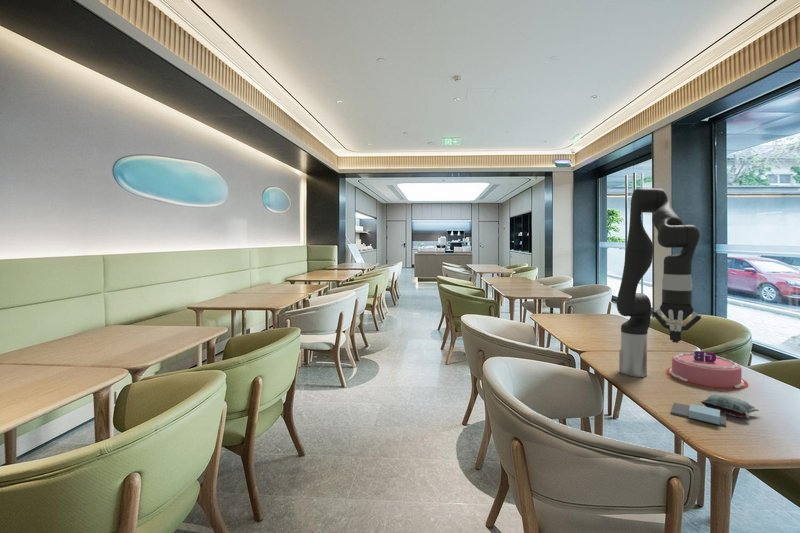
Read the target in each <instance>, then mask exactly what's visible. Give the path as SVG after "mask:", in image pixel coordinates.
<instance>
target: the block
mask: <svg viewBox="0 0 800 533" xmlns="http://www.w3.org/2000/svg"><path fill="white" fill-rule="evenodd" d="M689 406H690V408H689V417H690V418H689V419H691V418H694V419H693V420H695V419H698V420H697V421H700V420H702V421H701V422H704V421H707V422H706V423H708V422H711V423H710V424H712V423H715V424H714V425H717V424H719V425H718V426H721V425H720V413H721V412H720V410H717V409H713V408H708V407H706V406H703V405H699V404H694V403H690V404H689Z"/></svg>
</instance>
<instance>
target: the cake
mask: <svg viewBox="0 0 800 533" xmlns="http://www.w3.org/2000/svg"><path fill="white" fill-rule="evenodd" d="M742 371H743V370H742V366H741V365H740V364H739V363H737V362H735V361H733V360H731V359H729V358H725V357H723V356H717V355H716V353H714V352H712V351H703V350H695V351H693V352H682V353H678V354H675V355H673V356H672V358H671V367H669V368H667V369H666V370H665V374H667V376H669V377H671V379H675V380H677V381H679V382H683V383H686V384H689V385H692V386H698V387H703V388H708V389H714V390H715V389H717V390H727V391H729V390H731V391H733V390H734V391H738V390H739V391H740V390H745V389H747V388H748V387H749V383H748V382H747V380H745V379H743V378H742Z"/></svg>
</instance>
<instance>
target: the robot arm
mask: <svg viewBox="0 0 800 533" xmlns="http://www.w3.org/2000/svg"><path fill="white" fill-rule="evenodd" d="M629 212H630V213H629V224H628V225H629V226H628V228H629V229H628V233H627V234H628V235H627V241H626V248H625V253H624V261H623V262H624V264H623V270H622V277H621V282H620V286H619V289H618V293H617V298H616V309H617V311H618V313H619V314H620V315H621V316H623V317H629V319H628V320H627V321H625V322H623V323H622V324H621V325H620V349H619V350H618V352H619V356H618V357H619V359H618V360H619V363H618V373H620V374H623V375H626V376H629V377H635V378H641V377H642V378H643V377H646V376H648V375H647V374H648V334H649V333H648V331H649V328H650V325H651V318H652V317H651V316H653V317H654V318H655V319H656V320H657V321H658V323H660V325H661V326H662V328H664V329H667V330H668V331H669V339H670V341H672V343H675V344H676V343H677V344H679V342H681V340H682V332H683V331H689V329H691V328H692V327H693V326H694V325H696V323H697V322H699V321H700V320H701V319H702V315H701V314H698V313H697V312H695V311H694V308H693V305H692V303H693V302H692V301H693V299H692V297H693V296H692V295H693V279H692V265H693V264H692V263H693V257H694V255H695V252H696V249H697V247H698V243H699V241H700V236H701V233H700V230H699V229H698V227H697V226H696V225H694V224H684V222H683V221H682V219H681V218H680V216H678V215H677V213H676V212H675V211H674V209H673V205H672V203H671V201H670V198H669V195H668V192H666V190H665V189H662V188H658V187H656V188H653V187H651V188H648V187H646V188H645V187H644V188H643V187H642V188H640V187H639V188H635V189H634V190H633V192H632V195H631V199H630V210H629ZM642 213H646V214H647V213H648V214H649V213H652V214H653V215H652V219H651V220H652V224H653V226H654V227H655V229H656V230H657V243H658V244H659V246H661V247H664V248H666V249H667V248H668V249H669V248H670V249H671V248H672V249H674V248H682V249H681V251H680V252H679V253H675V254H671V255H666V256H665V257H664V259H663V277H662V282H661V283H662V286H661V304H660V306H659V308H658V309H657V310H653V311H652V303H651V302H652V301H651V300H650V297H649V296H648V295H647V294H645V293H642V292H641V293H639V292H638V293H637V289H638V286H639V284H640V282H641V280H642V279H643V277H644V275H645V274H646V273H647V272H648V270H649V269H650V268H651V265H652V262H653V258H654V251H655V246H654V244H653V241H652V239H651V237H650V236H649V234H648V232H647V231H646V230H645V227H644V225H643V220H642ZM663 315H664V316H665V317H666V319H668V322H669V323H668V322H667V321H666V320H665V318H664V317H662V316H663ZM690 316H691V317H690ZM688 317H690V318H691V320H689V321H688V322H686V324H685V325H683V324H684V323H683V322H684V321H685V320H686V319H688Z"/></svg>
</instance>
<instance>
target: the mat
mask: <svg viewBox="0 0 800 533" xmlns="http://www.w3.org/2000/svg"><path fill="white" fill-rule="evenodd" d="M689 408H690V405H687V404H683V403H677V402H673V404H672V407H671V410H670V414H671V415H675V416H680V417H682V418H687V419H692V420H695V421H700V422H705V423H709V424H713V425H718V426H722V427H727V414H725V413H722V412H720V425H719V424H715V423H711V422H707V421H702V420H698V419H694V418H690V417H689Z"/></svg>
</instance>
